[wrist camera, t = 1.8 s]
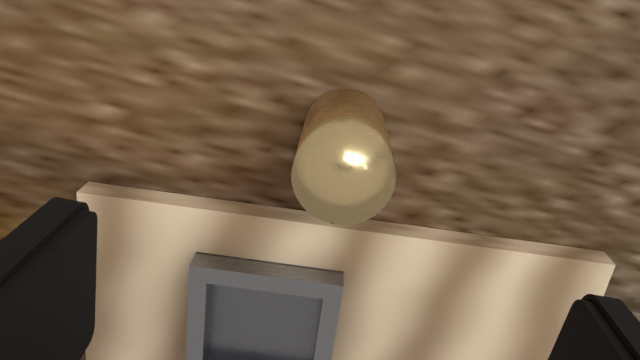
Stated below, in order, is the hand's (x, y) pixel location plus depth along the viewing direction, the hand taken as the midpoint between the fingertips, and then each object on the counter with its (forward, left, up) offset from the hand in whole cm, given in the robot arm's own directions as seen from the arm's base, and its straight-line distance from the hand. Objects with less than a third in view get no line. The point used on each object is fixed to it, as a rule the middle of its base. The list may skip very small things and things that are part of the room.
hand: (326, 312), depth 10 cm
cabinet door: (-9, +12, -19) cm, 24 cm away
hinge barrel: (-2, +2, -19) cm, 19 cm away
